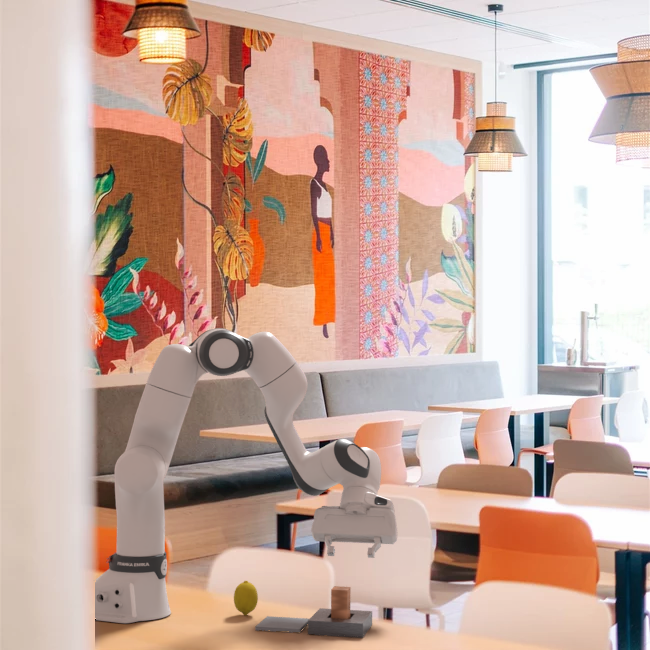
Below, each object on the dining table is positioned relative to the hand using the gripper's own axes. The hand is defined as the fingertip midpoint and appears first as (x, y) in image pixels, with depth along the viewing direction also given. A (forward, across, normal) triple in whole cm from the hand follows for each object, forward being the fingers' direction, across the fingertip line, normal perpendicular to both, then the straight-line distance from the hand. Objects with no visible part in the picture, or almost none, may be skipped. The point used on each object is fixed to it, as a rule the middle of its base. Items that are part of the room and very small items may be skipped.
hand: (350, 555), depth 245 cm
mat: (+18, -13, +2) cm, 22 cm away
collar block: (+18, 0, +2) cm, 18 cm away
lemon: (+13, -24, +8) cm, 28 cm away
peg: (+18, 0, +2) cm, 18 cm away
